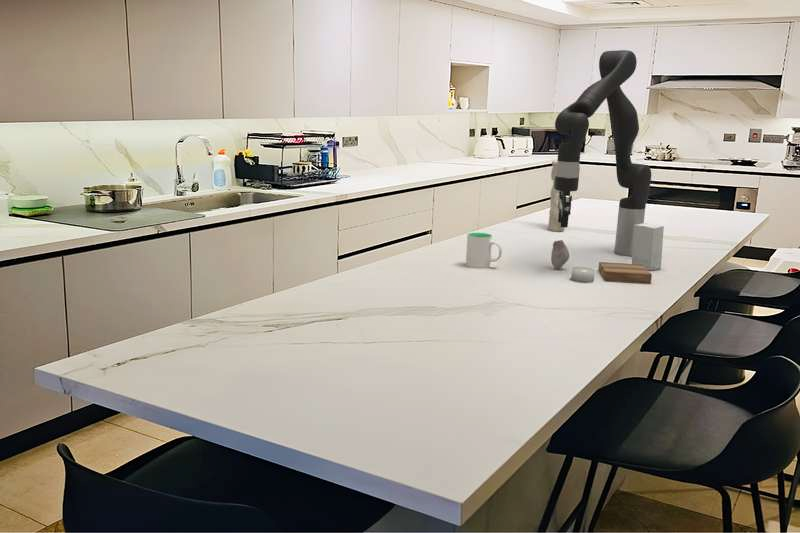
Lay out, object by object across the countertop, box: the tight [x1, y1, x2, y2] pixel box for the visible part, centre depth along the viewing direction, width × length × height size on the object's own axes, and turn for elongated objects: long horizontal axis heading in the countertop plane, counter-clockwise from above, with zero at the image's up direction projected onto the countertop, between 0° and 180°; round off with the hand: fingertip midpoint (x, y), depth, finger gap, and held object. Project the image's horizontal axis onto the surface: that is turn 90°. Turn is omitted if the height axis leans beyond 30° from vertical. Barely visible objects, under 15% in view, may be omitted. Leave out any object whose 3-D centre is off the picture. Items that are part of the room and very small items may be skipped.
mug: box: [465, 232, 503, 269], centre depth 244 cm, size 12×8×10 cm, turn 65°
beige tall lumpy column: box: [547, 161, 567, 233], centre depth 311 cm, size 9×8×30 cm
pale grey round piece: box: [570, 266, 596, 284], centre depth 231 cm, size 7×7×4 cm
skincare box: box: [631, 223, 665, 271], centre depth 250 cm, size 8×6×15 cm
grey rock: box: [550, 239, 570, 270], centre depth 244 cm, size 6×4×10 cm, turn 71°
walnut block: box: [597, 261, 653, 285], centre depth 237 cm, size 14×14×3 cm
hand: (562, 224), depth 241 cm, fingers open, 8 cm apart
